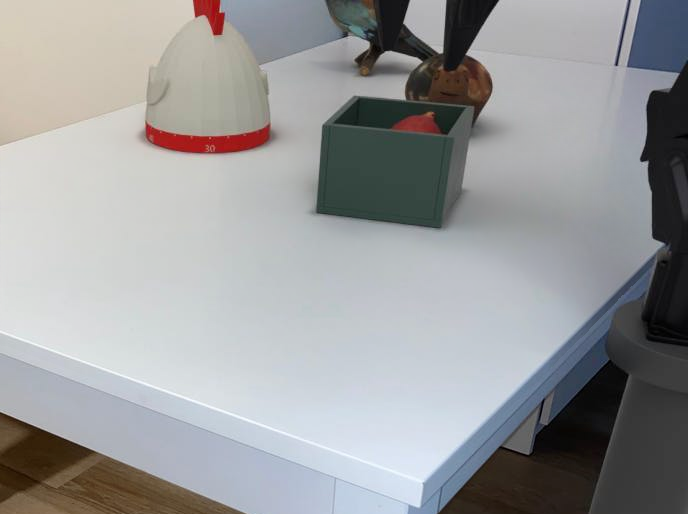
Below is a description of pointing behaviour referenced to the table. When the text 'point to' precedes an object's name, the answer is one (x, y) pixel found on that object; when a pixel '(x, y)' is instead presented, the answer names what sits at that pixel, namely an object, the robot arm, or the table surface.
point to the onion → (418, 124)
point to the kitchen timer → (207, 89)
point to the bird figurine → (373, 32)
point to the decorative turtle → (450, 84)
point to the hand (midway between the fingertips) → (417, 60)
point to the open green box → (392, 161)
